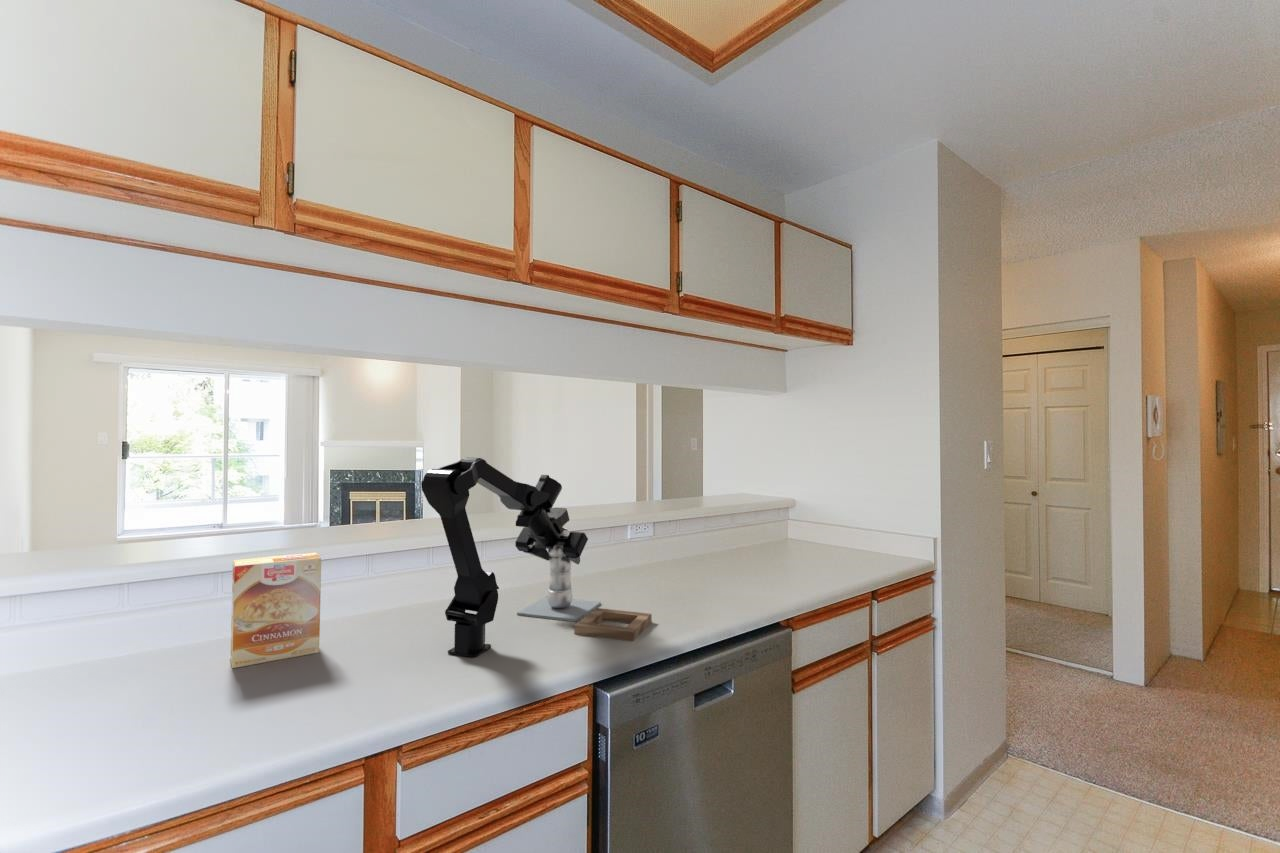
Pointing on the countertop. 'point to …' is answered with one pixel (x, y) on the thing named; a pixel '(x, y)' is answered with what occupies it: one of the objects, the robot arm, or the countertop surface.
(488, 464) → the robot arm
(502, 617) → the countertop surface
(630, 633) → the pocket frame
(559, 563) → the plastic bottle
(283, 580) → the coffeecake box
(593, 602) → the mat
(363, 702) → the countertop surface
